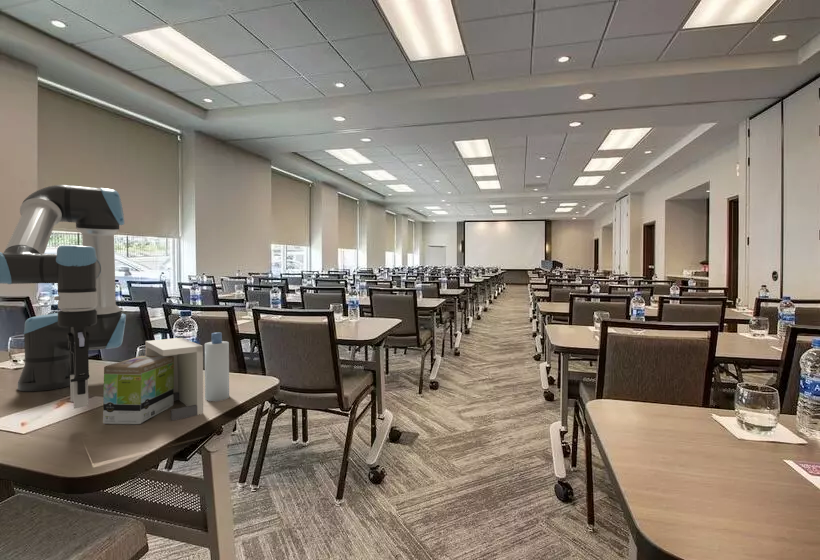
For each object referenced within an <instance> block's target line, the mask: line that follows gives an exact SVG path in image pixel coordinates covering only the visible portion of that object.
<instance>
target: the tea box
mask: <svg viewBox="0 0 820 560" xmlns="http://www.w3.org/2000/svg"><path fill="white" fill-rule="evenodd" d="M173 391H174V356H146V355H139V356H136V357H132V358H130V359H126V360H123V361H118V362H115V363H111V364H109V365H104V367H103V396H102V397H103V401H102V402H103V403H102V404H103V407H102V409H103V410H102V412H103V413H102V423H103V424H107V425H141V424H143V423H144V422H146V421H148V420H149V419H150V418H153V417H155V416H157V415H159V414H161V413H162V412H165V411H166V410H168V409H170V408H172V407H174V402H175V401H174V393H173Z"/></svg>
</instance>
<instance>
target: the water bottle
mask: <svg viewBox="0 0 820 560" xmlns="http://www.w3.org/2000/svg"><path fill="white" fill-rule="evenodd" d="M229 345H230V343H229V341H226V340H225V341H224V340H223V333H222V332H219V331H218V332H211V341H209V342H205V343H204V396H205V397H204V398H205V401H206V400H208V401H207V402H211V401H215V402H221V401H220V400H222V401H225V399H226V400H228V399H229V398H230V348H229V347H230V346H229ZM227 398H228V399H227Z"/></svg>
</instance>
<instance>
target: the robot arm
mask: <svg viewBox="0 0 820 560" xmlns="http://www.w3.org/2000/svg"><path fill="white" fill-rule="evenodd" d="M123 209H124V207H123V203H122V198H121V195H120V193H119V192H118V191H117V190H115V189H111V188H104V187H91V186H83V185H82V186H80V185H79V186H78V185H67V184H54V185H49V186H45V187H43V188H40V189H37V190H36V191H33V192H32V193H31V194H29V195H28V196H26V198H24V200H23V201H22V203H21V205H20V208H19V213H20V218H19V220H18V222H17V223H16V226H15V228H14V230H13V232H12V234H11V237H10V239H9V240H8V242H7V244H6V247H5V249H4V251H3V252H2V251H0V284H3V285H4V284H6V285H13V284H14V285H16V284H18V285H19V284H20V285H21V284H23V285H24V284H27V285H28V284H57V296H54V297H53V300H54V301H57V308H58V309H59V311H58V312H54V313H48V314H47V313H46V314H42V315H41V314H40V315H36V316H32V317H29V318H27V319H26V320H25V322H24V331H23V335H24V337H23V338H24V365H23V368H22V370H21V374H20V376H19V378H18V381H17V391H19V392H44V391H51V390H58V389H62V388H67V387H70V389H69V390H70V391H69V392H70V402H73V409H81V408H85V407H89V379H90V374H89V373H90V367H89V365H90V364H89V363H90V362H89V360H90V359H89V351H95V350H109V349H116V348H117V349H118V348H119V347H121V346H122V344H123V340H124V335H125V334H124V333H125V327H126V320H127V314H125V313H122V309H121V307H119V305H117V302H116V268H115V267H116V264H115V262H116V259H115V256H116V255H115V235H116V233H118V232H119V231H120V226H124V225H125V217H124V215H125V213H124V210H123ZM60 222H61V223H63V222H64V223H75V229H76V230H78V231H79V232H80V233H81V238H82V241H81V243H82V244H81V245H59V246H58V247H57V250H56V253H45V252H46V250H47V247H48V244H49V241H50V238H51V235H52V233H53V230H54V227H55V226H56V225H59V223H60Z"/></svg>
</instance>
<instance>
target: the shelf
mask: <svg viewBox="0 0 820 560" xmlns="http://www.w3.org/2000/svg"><path fill="white" fill-rule="evenodd" d="M145 356H174V391H173V393H175V392H178V393H179V400H178V401H180V403H183V404H184V405H185V407H186V406H191V405H197V415H196V416H199V414H200V415H203V414H204V369H203V368H204V345H203V344H202V345H201V344H199V343H196V342H194V341H192V340H189V339H186V338H184V337H176V338H175V337H173V338H164V339H153V340H145ZM202 413H203V414H202Z"/></svg>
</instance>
